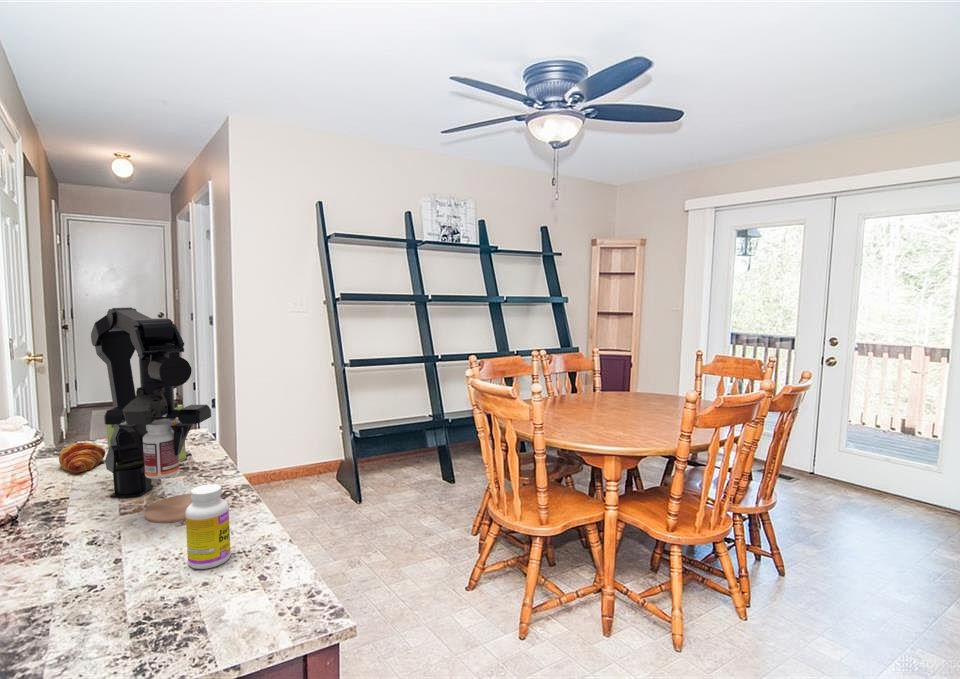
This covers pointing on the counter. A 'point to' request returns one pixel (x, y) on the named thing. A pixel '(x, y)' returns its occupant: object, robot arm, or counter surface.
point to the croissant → (81, 456)
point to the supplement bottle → (207, 528)
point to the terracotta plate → (168, 509)
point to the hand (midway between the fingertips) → (161, 455)
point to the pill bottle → (160, 450)
